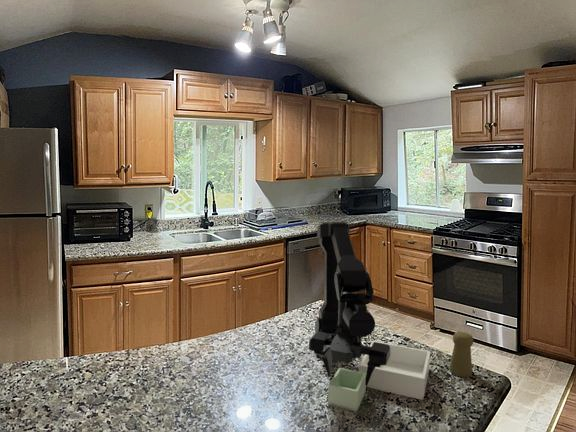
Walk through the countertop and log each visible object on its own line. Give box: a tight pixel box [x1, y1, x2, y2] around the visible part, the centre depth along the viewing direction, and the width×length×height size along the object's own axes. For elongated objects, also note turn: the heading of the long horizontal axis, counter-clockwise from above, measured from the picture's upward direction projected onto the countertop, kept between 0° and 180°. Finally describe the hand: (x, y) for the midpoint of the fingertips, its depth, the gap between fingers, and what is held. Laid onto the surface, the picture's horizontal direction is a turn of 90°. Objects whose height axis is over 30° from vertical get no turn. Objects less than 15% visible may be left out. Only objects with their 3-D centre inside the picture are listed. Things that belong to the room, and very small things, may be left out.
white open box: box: [358, 340, 431, 401], centre depth 112 cm, size 16×16×6 cm
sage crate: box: [327, 367, 367, 413], centre depth 102 cm, size 7×9×5 cm
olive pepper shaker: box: [448, 331, 474, 378], centre depth 115 cm, size 6×6×11 cm
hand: (347, 380), depth 102 cm, fingers open, 9 cm apart
